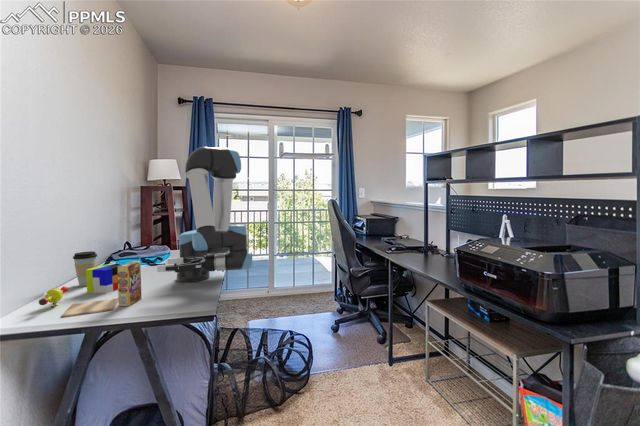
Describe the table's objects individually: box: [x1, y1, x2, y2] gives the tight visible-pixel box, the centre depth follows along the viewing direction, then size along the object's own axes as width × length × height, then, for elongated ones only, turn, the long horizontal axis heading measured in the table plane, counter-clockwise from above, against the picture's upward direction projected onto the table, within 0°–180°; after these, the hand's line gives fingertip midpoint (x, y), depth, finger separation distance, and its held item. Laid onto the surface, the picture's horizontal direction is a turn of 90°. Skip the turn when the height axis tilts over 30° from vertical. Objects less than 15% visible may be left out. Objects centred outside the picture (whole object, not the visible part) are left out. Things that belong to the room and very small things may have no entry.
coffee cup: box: [72, 250, 98, 287], centre depth 152 cm, size 9×9×15 cm
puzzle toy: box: [86, 264, 121, 294], centre depth 144 cm, size 10×10×10 cm
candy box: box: [117, 260, 143, 307], centre depth 125 cm, size 9×4×15 cm, turn 0°
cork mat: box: [61, 297, 118, 318], centre depth 120 cm, size 15×13×1 cm
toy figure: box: [38, 286, 69, 308], centre depth 122 cm, size 18×6×7 cm, turn 16°
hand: (162, 265), depth 136 cm, fingers open, 13 cm apart
